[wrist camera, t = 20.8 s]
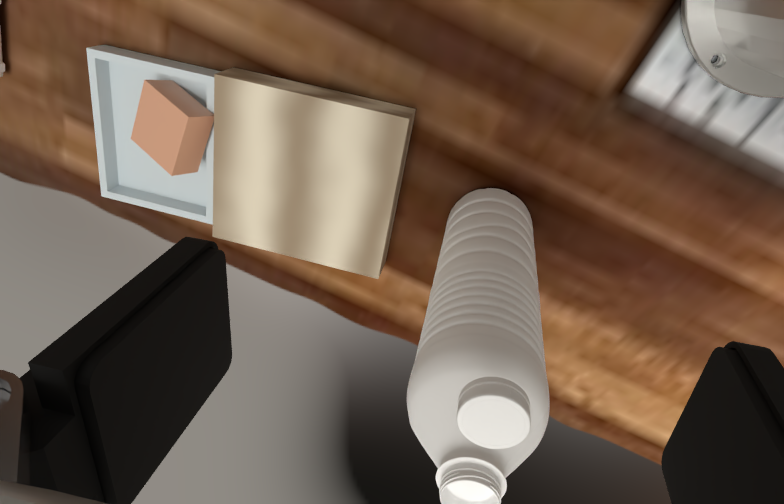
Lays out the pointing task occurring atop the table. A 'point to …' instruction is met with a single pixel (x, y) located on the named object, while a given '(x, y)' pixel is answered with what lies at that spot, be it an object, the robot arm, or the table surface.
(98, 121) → the box
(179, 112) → the terracotta tile
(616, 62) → the table surface
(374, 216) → the birch plate
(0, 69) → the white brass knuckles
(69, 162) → the table surface
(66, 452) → the robot arm
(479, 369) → the water bottle
